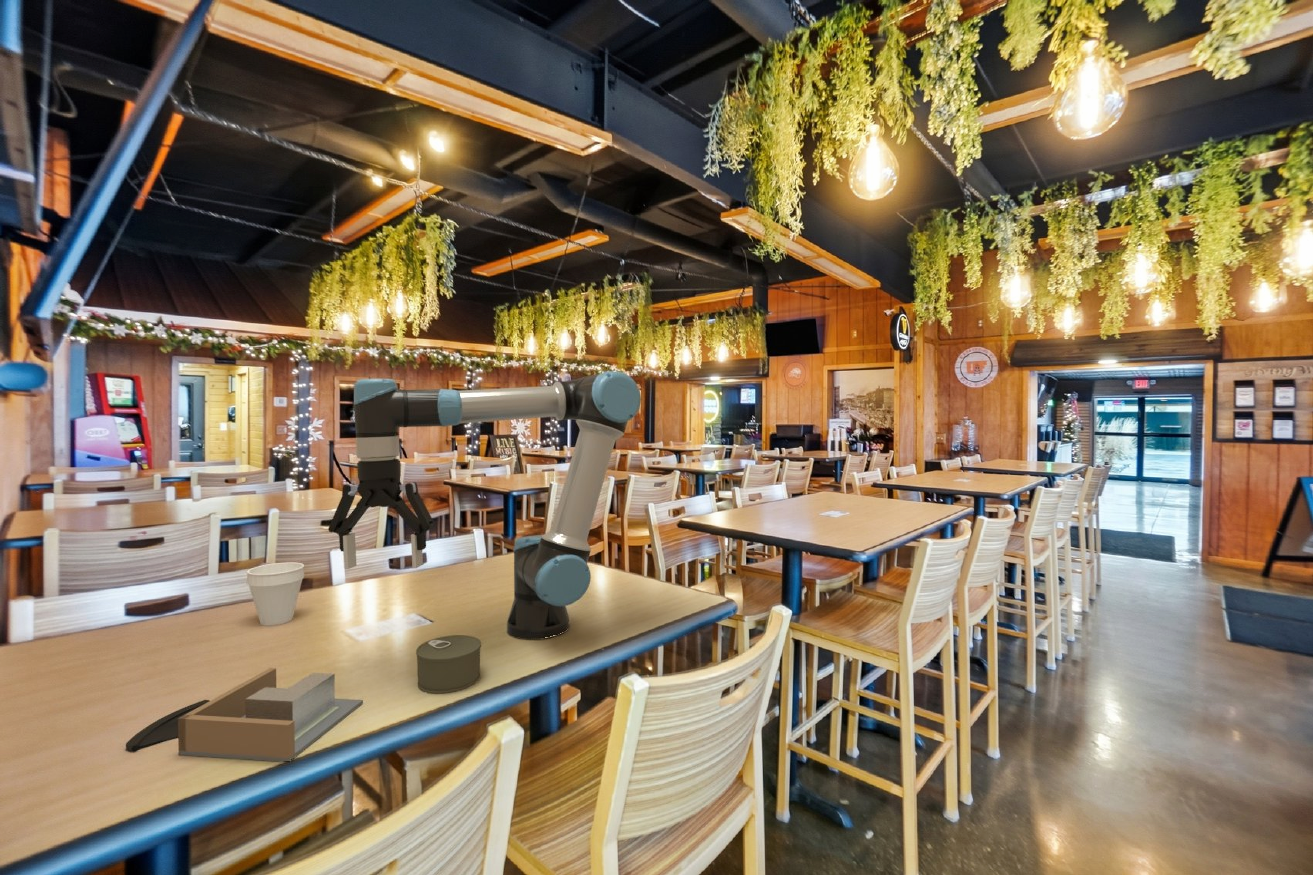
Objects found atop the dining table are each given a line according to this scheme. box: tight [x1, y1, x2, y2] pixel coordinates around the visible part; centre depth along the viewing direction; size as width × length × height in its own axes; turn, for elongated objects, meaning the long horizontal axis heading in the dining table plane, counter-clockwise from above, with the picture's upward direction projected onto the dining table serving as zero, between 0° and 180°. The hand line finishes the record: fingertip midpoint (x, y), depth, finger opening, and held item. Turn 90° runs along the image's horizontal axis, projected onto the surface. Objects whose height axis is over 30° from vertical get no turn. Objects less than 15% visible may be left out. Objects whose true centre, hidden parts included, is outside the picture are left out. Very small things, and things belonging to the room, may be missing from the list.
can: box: [415, 634, 482, 695], centre depth 112 cm, size 12×12×7 cm
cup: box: [246, 561, 306, 627], centre depth 145 cm, size 12×12×14 cm
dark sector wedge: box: [125, 699, 211, 753], centre depth 94 cm, size 8×14×2 cm, turn 157°
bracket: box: [246, 672, 336, 737], centre depth 95 cm, size 10×8×6 cm
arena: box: [177, 667, 364, 762], centre depth 94 cm, size 18×18×6 cm
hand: (384, 567), depth 111 cm, fingers open, 13 cm apart
